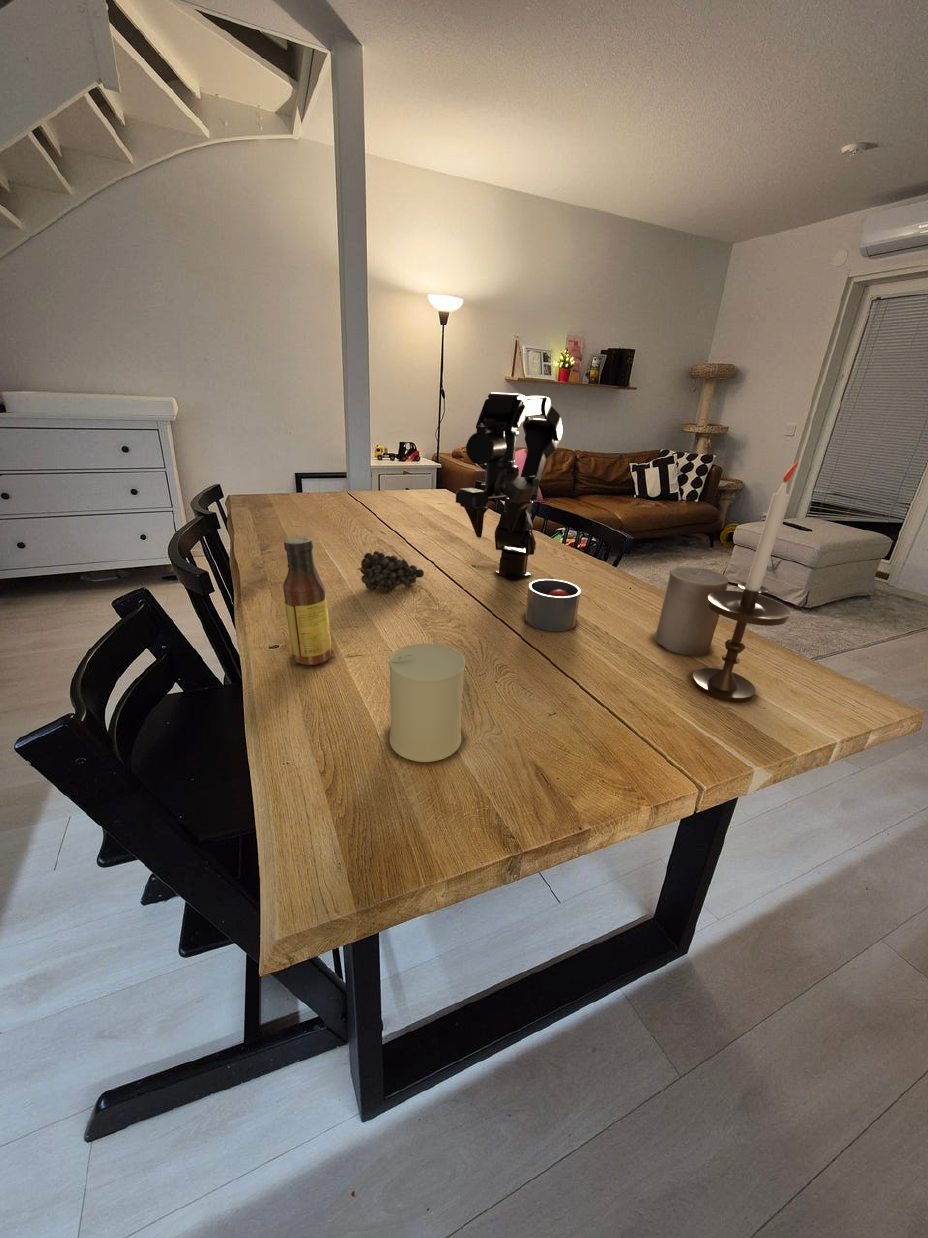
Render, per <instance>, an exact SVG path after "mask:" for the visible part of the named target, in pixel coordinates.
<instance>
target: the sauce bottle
mask: <svg viewBox="0 0 928 1238" xmlns="http://www.w3.org/2000/svg"><path fill="white" fill-rule="evenodd" d="M313 543H314V542H313V539H312V538H310V537H308V536H293V537H288V538H286V539H284V540H283V547H284V551H285V552H286V558H287V559H286V560H287V568H288V571H287V574H286V577H285V579H284V581H283V585H282V589H283V594H284V606H285V607H284V608H285V614H286V615H285V616H286V620H287V628H288V633H289V642H290V648H291V653H292V657H293V660H294V661H295V662H296V663H297V664H300V665H303V666H317V665H320V664H323V663H325V662H327V661H328V660H329V659H330V658H331V656H332V638H331V628H330V619H329V618H330V617H329V610H328V602H327V593H326V592H327V591H326V588H325V586H324V584H323V582H322V579H321V577H320V575H319V572H318V570H317V568H316V566H315V561H314V554H313V549H314V544H313Z"/></svg>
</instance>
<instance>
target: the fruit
mask: <svg viewBox="0 0 928 1238" xmlns="http://www.w3.org/2000/svg"><path fill="white" fill-rule="evenodd" d="M360 566H361V567H359V568H356V570H359V571H360V572H361V574H362V576H361V579H360V580H361V582H362V583H363V584H364V585H365V588H366V589H367V590H371V591H372V590H376V589H377V588H378V589H379V591H380V592H381V593H387V592H388V591H389V590H392V589H394V587H395V586H396V587H397V586H399V585H404V586H405V588H406V587H410V586H411V584H412V585H413V584H415V583H416V581H417V578H422V577H424V575H425V573H424V572H425V571H424V570H423V569H420V568H418V567H417V566H416V565H415V564H412V565H409V563H408V561H407V560H406V559H398V557H397V556H396V555H391V556H390V555H385V553H384V552H380V551H379V550H375V551H373V553H371V552H366V553H365V554H364V555H363V558H362V560H361V563H360Z"/></svg>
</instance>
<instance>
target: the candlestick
mask: <svg viewBox="0 0 928 1238" xmlns="http://www.w3.org/2000/svg"><path fill="white" fill-rule="evenodd" d="M798 464H799V459H796V462H795V463H794V464H793V465H792V466H791V467H789V469H788V470H787V472H786V473H785V475H784V476H783V478H782V479H783V480H782V482H783V483H781V486H780V488H779V489H778V491H777V492H774V493H773V494H772V498H771V501H770V504H769V508H768V511H767V515H766V518H765V521H764V524H763V528H762V531H761V533H760V538H759V541H758V544H757V547H756V550H755V554H754V558H753V561H752V564H751V567H750V570H749V574H748V577H747V581H746V582H739V583H737V586H738V587H739V588H740V589H743V591H740V590H739V591H737V590H726V591H715V592H712V593H710V594H709V596H708V599H707V606H708V607H709V608H710V609H711V610H712V611H714V612H716V613H718V614H720V615H719V616H722V617H724V618H727V619H729V620H732V621H735V622H736V623H735V628H734V630H733V633H732V636H731V639H727V640H726V641H725V642H724V647H725V649H726V654H723V655H722V656H721V660H722V661H724V663H723V666H722V668H718V667H717V668H716V667H703V668H698V669H696V670H695V671H693V674H692V678H691V683H692V685H693V686H694V687H695V688H696V689H697V690H698V691H699V692H701V693H702V694H704V695H706V696H708V697H710V698H713V699H714V700H715V699H716V700H719V701H722V702H727V703H734V704H742V703H747V702H750V701H752V700H753V698H754V697H755V693H756V687H755V685H754V683H752V682H751V681H750V680H748V679H747V678H746V677H744V676H742V675H740V674H738V673H735V672H734V671H733V670H734V667H735V665H738V664H739V663H740V658H738V656H739V654H741V653H743V651H745V649H746V645H745V643H744V642H742V641H743V638H744V634H745V631H746V629H747V624H748V625H756V626H765V627H774V626H780V625H784V624H785V623H787V622H788V620H789V617H790V615H791V613H790V610H789V608H788V607H787V606H786V605H784V604H782V603H781V602H778V601H776V600H774V599H771V598H768V597H767V596H763V595H760V593H768V592H769V589H768V588H767V587H765V586H763V585H762V583H763V581H764V577H765V575H766V571H767V567H768V565H769V561H770V558H771V555H772V551H773V549H774V547H775V542H776V539H777V537H778V533H779V529H780V526H781V523H782V520H783V517H784V514H785V510H786V507H787V504H788V501H789V498H790V495H789V494H788V493H787V487H788V482H789V480H790V479H791V477H792V476H793V474H794V472H795V470H796V469H797V468H798Z"/></svg>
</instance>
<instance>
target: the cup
mask: <svg viewBox="0 0 928 1238" xmlns="http://www.w3.org/2000/svg"><path fill="white" fill-rule="evenodd" d="M566 587H567V588H568V589H567V591H566V592H567V593H569V595H570V596H567V597H555V596H548V595H547V594H548V593H549V592H551V591H552V590H556V589H561V590H564V589H565V588H566ZM527 588H528V589H527V596H526V607H525V618H524V619H525V621H526V623H527V624H529V625H530V626H532V627H534V628H536V629H540V630H543V631H548V632H549V631H550V632H565V631H570V630H572V629H574V627H575V626H576V624H577V617H578V611H579V605H580V598H581V592H582V590H581V588H580V587H579V586H578V585H576V584H575V583H572V582H569V581H565V580H561V579H554V578H552V579H551V578H543V579H536V580H533V581H531V582H529V584H528V587H527Z"/></svg>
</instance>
